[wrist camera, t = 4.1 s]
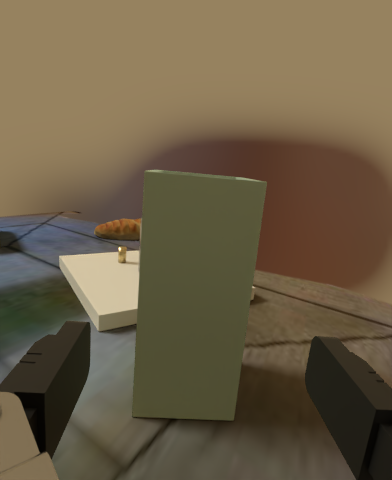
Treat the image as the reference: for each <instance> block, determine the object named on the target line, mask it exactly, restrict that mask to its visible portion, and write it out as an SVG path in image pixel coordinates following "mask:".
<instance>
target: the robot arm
mask: <svg viewBox="0 0 392 480" xmlns="http://www.w3.org/2000/svg"><path fill="white" fill-rule="evenodd" d="M90 332H91V328H90V323H89V322H78V321H66V322H65V324H64V325H63V326H62V328H61V329H60V330H59V332H58V333H57V334H56V335H47V336H45V337H43V338H42V339H40V340H38V341H37V342H35V343H34V344H33V346H32V347H31V348H30V349H29V350H28V352H27V354H26V355H24V356H23V358H22V359H21V360H20V362H19V363H18V364H17V365H16V366H15V367H14V368H13V370H12V371H11V372H10V373H9V375H8V376H7V377H6V378H5V379H4V381H3V382H2V383H1V384H0V480H59V478H58V476H57V473H56V471H55V468H54V466H53V463H52V461H51V459H52V457H53V455H54V453H55V450H56V448H57V446H58V444H59V441H60V439H61V437H62V435H63V432H64V430H65V428H66V426H67V423H68V421H69V419H70V417H71V414H72V412H73V410H74V408H75V405H76V403H77V401H78V399H79V396H80V394H81V392H82V390H83V387H84V385H85V383H86V380H87V377H88V373H89V367H90ZM305 383H306V388H307V391H308V393H309V395H310V397H311V399H312V401H313V402H314V404H315V406H316V408H317V410H318V411H319V413H320V415H321V417H322V419H323V420H324V422H325V424H326V426H327V428H328V429H329V431H330V433H331V435H332V437H333V438H334V440H335V442H336V444H337V446H338V447H339V449H340V451H341V453H342V455H343V456H344V458H345V460H346V462H347V464H348V465H349V467H350V469H351V471H352V473H353V474H354V476H355V478H356V480H392V389H391V388H390V387H389V385H388V384H387V383H384V380H383V379H382V378H381V377H380V376H379V375H378V374H376V372H375V371H374V370H373V368H372V367H371V366H370V365H369V364H368V363H367V362H366V361H364V360H363V359H361V358H360V357H358V356H357V355H355V354H354V353H352V352H350V351H349V350H348V349H347V348H346V347H345V346H344V345H343V344H342V342H341V341H340V340H339V339H338V338H335V337H319V336H315V337H314V338H313V340H312V343H311V347H310V353H309V358H308V363H307V368H306V373H305Z"/></svg>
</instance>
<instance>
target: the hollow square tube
mask: <svg viewBox="0 0 392 480" xmlns="http://www.w3.org/2000/svg"><path fill="white" fill-rule="evenodd" d="M266 185H267V182H263V181H258V180H252V179H247V178H239V177H229V176H218V175H207V174H196V173H185V172H174V171H163V170H149V171H145V173H144V192H143V212H142V231H141V250H140V270H139V289H138V309H137V328H136V347H135V367H134V386H133V405H132V417H151V418H177V419H203V420H228V421H234V416H235V408H236V401H237V394H238V387H239V380H240V372H241V365H242V358H243V351H244V344H245V336H246V329H247V322H248V315H249V308H250V300H251V293H252V286H253V279H254V272H255V264H256V257H257V250H258V243H259V235H260V228H261V221H262V214H263V207H264V199H265V192H266Z"/></svg>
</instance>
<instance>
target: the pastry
mask: <svg viewBox="0 0 392 480" xmlns="http://www.w3.org/2000/svg"><path fill="white" fill-rule="evenodd" d="M140 224H141V219H136V220H130V219H120V220H114V221H112V222H107V223H106V224H101V225H98V226H97V227H96V229H95V232H94V234H95V235H97V236H99V237H101V238H104V239H116V240H139V241H140Z"/></svg>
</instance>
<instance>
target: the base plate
mask: <svg viewBox="0 0 392 480" xmlns="http://www.w3.org/2000/svg"><path fill="white" fill-rule="evenodd" d="M141 231H142V218H141V224H140V244H139V251H126V248H127V247H123V246H121V247H119V250H118V252H111V253H97V254H83V255H69V256H59V261H60V269H61V270H62V272H63V274H64V275H65V277H66V279H67V280H68V282H69V284H70V285H71V287H72V289H73V290H74V292H75V293H76V295H77V297H78V298H79V300H80V302H81V303H82V305H83V307H84V308H85V310H86V312H87V313H88V315H89V317H90V318H91V320H92V322H93V323H94V325H95V327H96V328H97V330H98V332H99V331H104V330H109V329H113V328H118V327H123V326H128V325H133V324H137V309H138V289H139V270H140V250H141ZM254 293H255V287H253V286H252V293H251V300H254Z"/></svg>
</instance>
